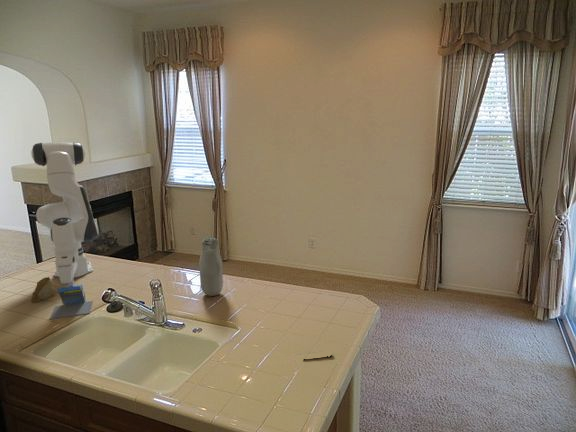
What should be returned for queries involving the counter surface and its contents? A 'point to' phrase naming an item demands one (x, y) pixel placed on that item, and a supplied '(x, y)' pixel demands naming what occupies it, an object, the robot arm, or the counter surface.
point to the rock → (42, 290)
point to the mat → (71, 310)
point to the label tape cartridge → (72, 294)
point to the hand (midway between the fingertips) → (71, 285)
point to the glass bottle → (211, 267)
